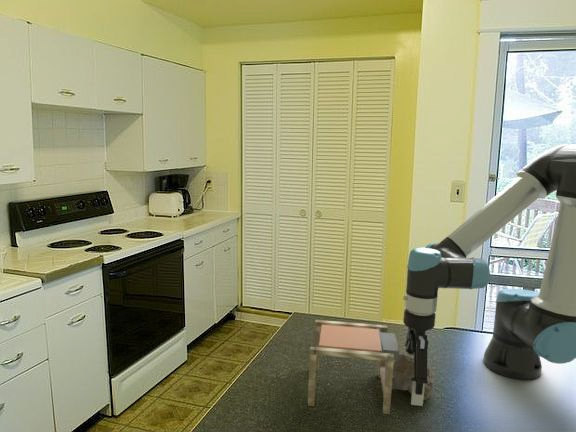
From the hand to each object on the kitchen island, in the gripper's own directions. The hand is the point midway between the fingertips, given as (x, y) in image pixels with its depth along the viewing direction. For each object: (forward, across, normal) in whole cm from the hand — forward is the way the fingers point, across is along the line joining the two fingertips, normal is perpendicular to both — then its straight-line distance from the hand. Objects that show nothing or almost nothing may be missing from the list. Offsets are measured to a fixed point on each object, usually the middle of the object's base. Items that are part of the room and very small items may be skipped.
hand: (412, 389), depth 114 cm
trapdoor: (-11, +1, -15) cm, 18 cm away
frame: (+1, +1, -16) cm, 16 cm away
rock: (+1, 0, 0) cm, 1 cm away
